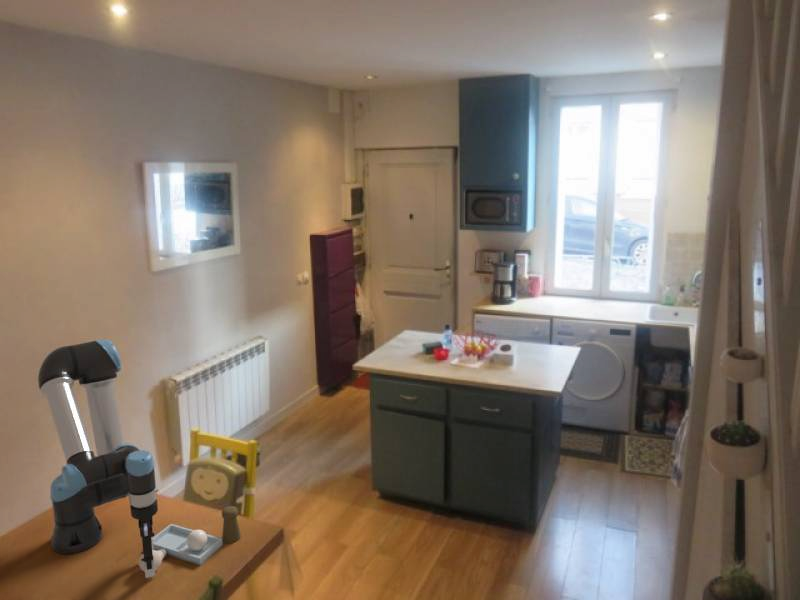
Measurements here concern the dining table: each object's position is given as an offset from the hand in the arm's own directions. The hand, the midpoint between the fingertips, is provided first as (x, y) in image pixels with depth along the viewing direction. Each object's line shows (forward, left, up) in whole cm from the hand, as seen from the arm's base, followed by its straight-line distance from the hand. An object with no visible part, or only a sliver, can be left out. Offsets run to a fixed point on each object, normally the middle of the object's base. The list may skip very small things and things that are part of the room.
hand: (150, 566), depth 192 cm
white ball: (+8, +13, 0) cm, 15 cm away
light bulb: (0, +2, -1) cm, 2 cm away
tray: (+2, +13, -1) cm, 13 cm away
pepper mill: (+13, +23, -1) cm, 26 cm away
